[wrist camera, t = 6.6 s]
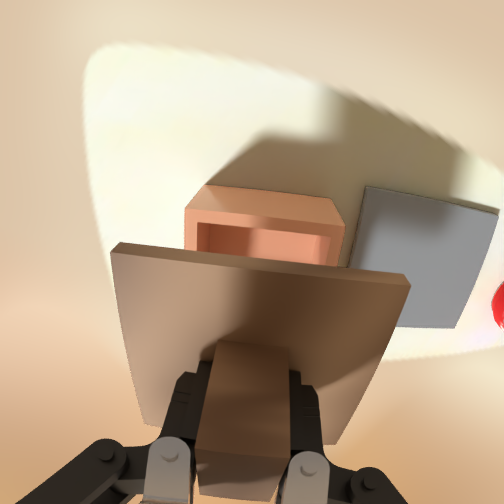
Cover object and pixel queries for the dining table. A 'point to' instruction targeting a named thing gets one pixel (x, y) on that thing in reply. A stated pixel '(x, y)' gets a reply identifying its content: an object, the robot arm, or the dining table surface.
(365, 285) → the lid
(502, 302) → the beverage can
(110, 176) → the dining table surface
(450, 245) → the mat
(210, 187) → the open salmon box
